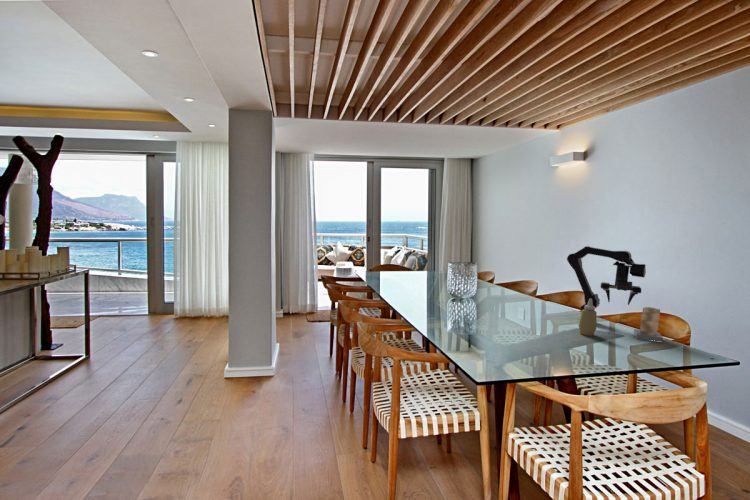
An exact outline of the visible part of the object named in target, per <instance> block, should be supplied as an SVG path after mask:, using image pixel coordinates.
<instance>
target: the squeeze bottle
mask: <svg viewBox="0 0 750 500" xmlns="http://www.w3.org/2000/svg"><path fill="white" fill-rule="evenodd" d="M578 330H579V334H581V335H583V336H587V337H588V336H594V334H595V332H596V331H597V311H596V308H595V306H593V302H592V299H589V301H588V304H587V305H585V309H583V310H582V313H581V312H580V318H579V322H578Z"/></svg>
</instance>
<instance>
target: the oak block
mask: <svg viewBox="0 0 750 500" xmlns="http://www.w3.org/2000/svg"><path fill="white" fill-rule="evenodd" d="M641 313H642V314H641V321H640V327H639V328H640V329H639V330H640V333H644V334H648V335H656V334H657V332H658V328H659V323H660V314H661V309H660V308H659V309H658V308H654V307H652V306H651V307H650V306H648V307H647V306H646V307H643V308H642V312H641Z"/></svg>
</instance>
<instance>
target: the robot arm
mask: <svg viewBox="0 0 750 500" xmlns="http://www.w3.org/2000/svg"><path fill="white" fill-rule="evenodd" d="M587 255H593V256H597V257H599V256H600V257H603V258H605V257H606V258H610V259H612V260H615V262H614V263H612V264H613V266H616V272H615V279H614V284H610V283H609V282H605V281H604V282H603V281H602V282H601V283H600V289H602V290H603V291H605V293H606V297H607V302H608V303H610V300H611V297H610V295H611V290H610V289H613V290H614V289H616V290H618V291H623V292H627V291H630V292H629V296H628V301H627V305H628V306H630V303H631V302H632V299H633V298H634V297H635V296H636V295H639V294H642V287H640V286H639V285H638V286H637V285H633V281H629V274H630V275H631V276H632V277H637V278H643V279H644V278H645V277H646V273H647V271H646V270H647V269H646V266H647V265H646V264H643V263H635V262H634V260H633V258H632V254H631V252H630V251H627V250H609V249H603V248H598V247H592V246H590V245H588V246H587V245H586V246H584V247H583V248H581V249H579V250H578V251H575V252H573V253H570V254H568V256H567V257H566V260H567V263H568V264H569V265H570V267H571V268H572V270H573V271H574V273H575V275H576V277H577V280H578V283H579V285H580V287H581V290H582V292H583V297H584V298H583V299H584V304H583V305H580V311H581V312H580V314H581V313H582V310H583V309H585V305H587V304H588V301H589V299H592V302H593V306H595V309H597V308H598V307H599V306H600V305H601V303H600V301H601V300H600V298H599V295H598V293H594V292H593V290H592V288H591V286H590V283H589V281H588V278H587V275H586V274H585V271H584V268H583V258H584V257H586V256H587Z"/></svg>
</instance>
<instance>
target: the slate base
mask: <svg viewBox="0 0 750 500" xmlns="http://www.w3.org/2000/svg"><path fill="white" fill-rule="evenodd" d="M633 336H634V337H635V339H636V340H639V339H640V340H641V341H646V340H653V341H654V340H655V341H663V342H664V337H663V336H662V334H661V333H660V332H658V331H657V334H656V335H648V334H644V333H640V329H637V328H633ZM640 340H639V341H640Z"/></svg>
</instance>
